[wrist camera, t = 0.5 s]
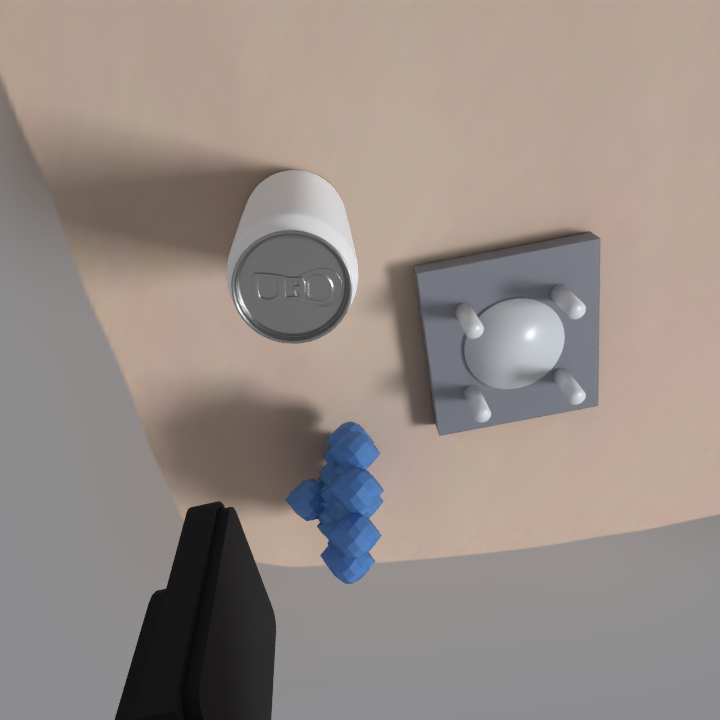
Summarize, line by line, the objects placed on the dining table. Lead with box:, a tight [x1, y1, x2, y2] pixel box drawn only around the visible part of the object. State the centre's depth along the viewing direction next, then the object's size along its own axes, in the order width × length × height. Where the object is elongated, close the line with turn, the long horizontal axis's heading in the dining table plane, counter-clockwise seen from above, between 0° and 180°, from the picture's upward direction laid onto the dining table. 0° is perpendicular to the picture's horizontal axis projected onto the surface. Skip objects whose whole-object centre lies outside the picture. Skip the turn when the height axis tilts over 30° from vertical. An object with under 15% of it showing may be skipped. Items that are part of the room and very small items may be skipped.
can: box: [227, 170, 358, 343], centre depth 34 cm, size 6×6×12 cm
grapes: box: [286, 422, 384, 584], centre depth 42 cm, size 12×7×12 cm, turn 175°
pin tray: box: [414, 232, 600, 436], centre depth 42 cm, size 13×12×4 cm
